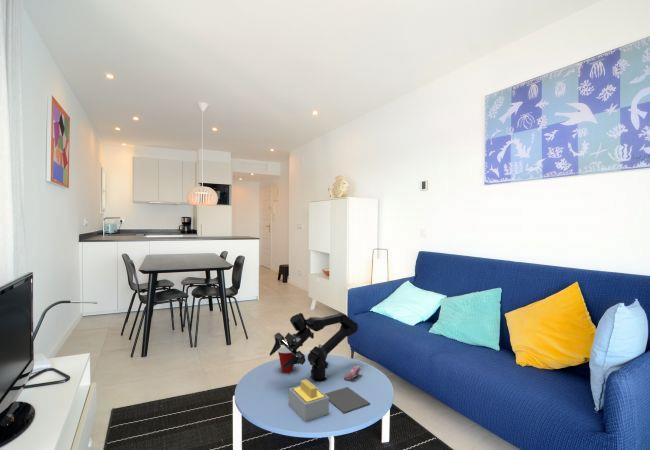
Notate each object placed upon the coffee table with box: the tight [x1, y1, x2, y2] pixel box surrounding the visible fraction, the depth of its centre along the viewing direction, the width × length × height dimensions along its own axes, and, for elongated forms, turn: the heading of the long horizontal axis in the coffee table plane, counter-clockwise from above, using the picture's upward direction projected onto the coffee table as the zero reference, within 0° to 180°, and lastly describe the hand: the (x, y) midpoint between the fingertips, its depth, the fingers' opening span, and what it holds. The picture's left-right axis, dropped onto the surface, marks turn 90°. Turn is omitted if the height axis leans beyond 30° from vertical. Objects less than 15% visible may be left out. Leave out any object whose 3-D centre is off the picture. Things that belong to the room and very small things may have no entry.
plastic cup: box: [276, 346, 295, 374], centre depth 179 cm, size 11×11×12 cm
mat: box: [324, 386, 371, 414], centre depth 150 cm, size 14×17×1 cm
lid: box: [293, 379, 325, 403], centre depth 142 cm, size 8×12×4 cm
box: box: [288, 384, 330, 423], centre depth 142 cm, size 11×15×7 cm
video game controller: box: [343, 365, 362, 381], centre depth 172 cm, size 10×5×7 cm, turn 148°
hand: (276, 361), depth 156 cm, fingers open, 9 cm apart
